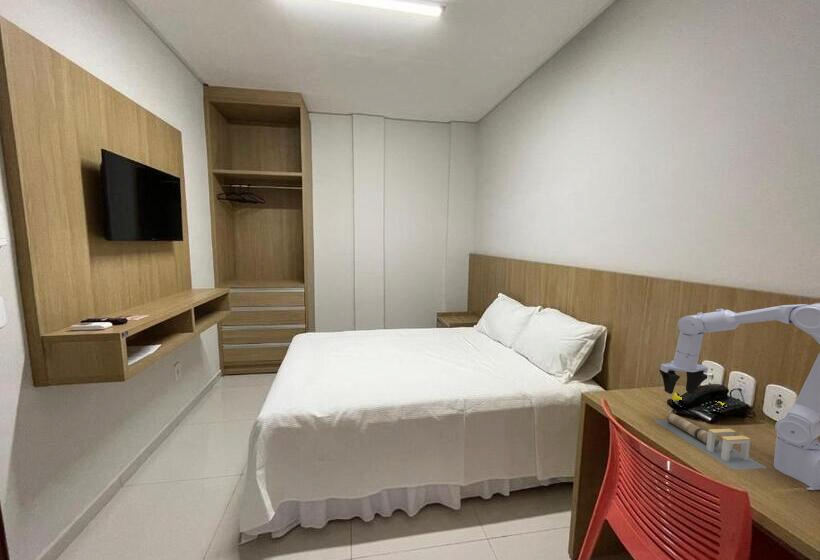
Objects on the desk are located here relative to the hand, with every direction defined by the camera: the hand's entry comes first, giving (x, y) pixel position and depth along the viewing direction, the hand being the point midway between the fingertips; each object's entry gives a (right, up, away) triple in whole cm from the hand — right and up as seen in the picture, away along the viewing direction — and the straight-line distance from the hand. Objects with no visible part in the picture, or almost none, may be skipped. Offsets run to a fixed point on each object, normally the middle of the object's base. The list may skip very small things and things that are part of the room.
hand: (679, 392), depth 106 cm
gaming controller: (+16, -11, +13) cm, 24 cm away
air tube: (0, -11, -5) cm, 12 cm away
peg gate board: (0, -12, -9) cm, 15 cm away
